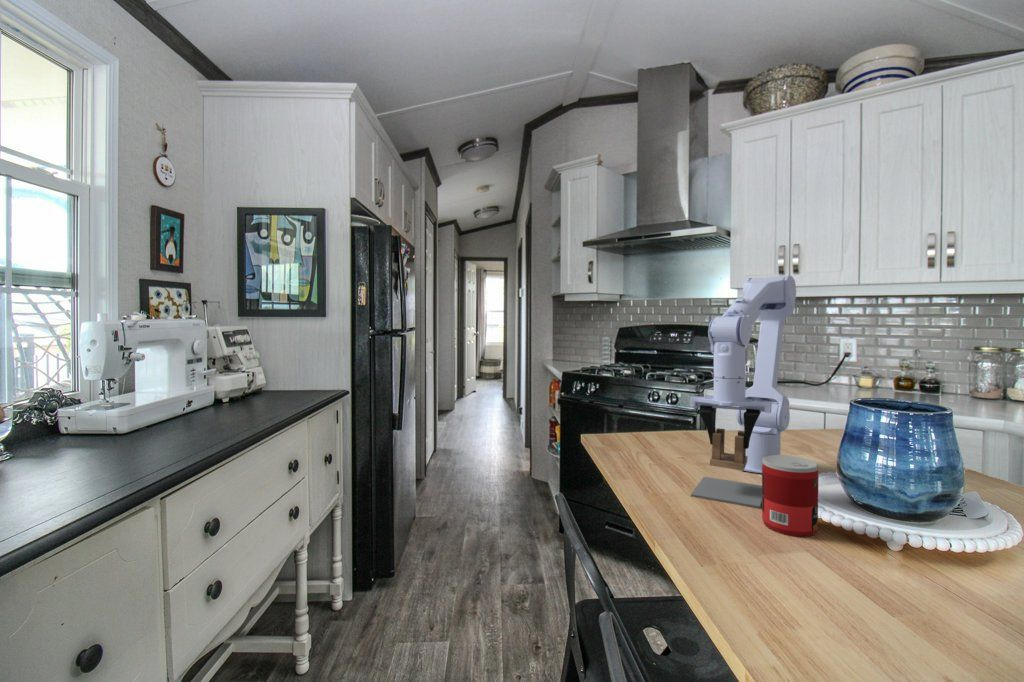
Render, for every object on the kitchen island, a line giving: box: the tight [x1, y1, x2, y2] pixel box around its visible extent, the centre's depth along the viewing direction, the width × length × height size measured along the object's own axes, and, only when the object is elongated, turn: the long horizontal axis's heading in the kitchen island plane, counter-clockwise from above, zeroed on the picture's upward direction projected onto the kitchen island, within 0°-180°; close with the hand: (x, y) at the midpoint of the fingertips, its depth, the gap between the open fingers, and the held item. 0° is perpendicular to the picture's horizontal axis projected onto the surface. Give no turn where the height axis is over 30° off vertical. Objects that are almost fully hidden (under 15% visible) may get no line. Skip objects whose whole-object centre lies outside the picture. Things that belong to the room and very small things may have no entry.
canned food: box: [761, 454, 819, 538], centre depth 79 cm, size 8×8×11 cm
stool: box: [709, 427, 748, 472], centre depth 95 cm, size 6×6×6 cm
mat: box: [690, 476, 762, 509], centre depth 95 cm, size 12×12×1 cm
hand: (729, 445), depth 94 cm, fingers closed on stool, 5 cm apart
